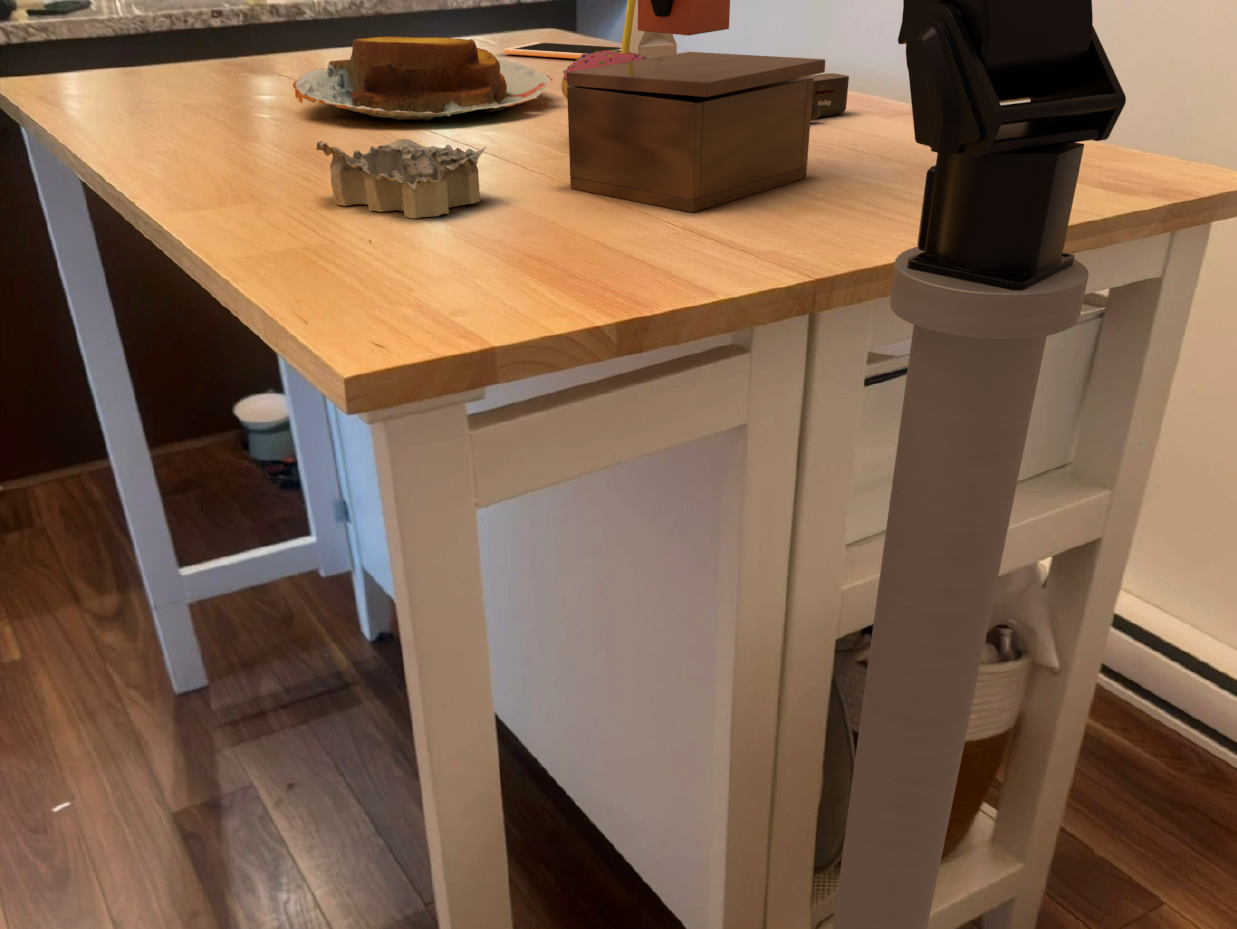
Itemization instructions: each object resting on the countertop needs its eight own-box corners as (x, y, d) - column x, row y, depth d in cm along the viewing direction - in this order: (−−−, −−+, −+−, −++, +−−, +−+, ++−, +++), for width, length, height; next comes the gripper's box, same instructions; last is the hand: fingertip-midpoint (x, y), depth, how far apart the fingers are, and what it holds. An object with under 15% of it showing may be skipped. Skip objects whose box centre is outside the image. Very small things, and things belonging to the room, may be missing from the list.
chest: (806, 178, 86) (814, 77, 82) (692, 212, 78) (695, 103, 74) (686, 158, 92) (688, 64, 89) (570, 188, 84) (566, 86, 80)
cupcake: (667, 133, 101) (668, -24, 95) (657, 152, 94) (657, -15, 88) (571, 132, 102) (566, -23, 96) (554, 151, 95) (547, -15, 89)
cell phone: (608, 61, 139) (608, 55, 139) (502, 54, 146) (501, 48, 146) (641, 54, 144) (641, 48, 144) (536, 47, 151) (536, 41, 151)
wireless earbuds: (771, 118, 107) (773, 80, 105) (828, 110, 110) (831, 72, 108) (804, 126, 103) (806, 86, 102) (862, 117, 107) (866, 78, 105)
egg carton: (317, 203, 82) (307, 141, 79) (394, 183, 87) (387, 124, 84) (422, 223, 76) (415, 157, 74) (498, 201, 81) (494, 139, 79)
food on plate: (551, 84, 125) (549, 16, 122) (556, 127, 105) (553, 47, 101) (317, 89, 124) (307, 20, 120) (275, 133, 104) (262, 52, 100)
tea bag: (638, 116, 108) (637, -5, 103) (622, 105, 114) (621, -11, 108) (675, 114, 109) (677, -6, 103) (658, 103, 114) (659, -12, 109)
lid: (825, 72, 81) (825, 59, 81) (706, 97, 73) (706, 82, 73) (688, 64, 89) (688, 51, 88) (566, 85, 80) (565, 72, 80)
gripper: (684, -263, 79) (679, -5, 88) (486, -282, 68) (504, 17, 77) (819, -275, 73) (799, 4, 82) (628, -297, 62) (629, 30, 71)
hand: (684, 13), depth 78 cm, fingers closed on block, 4 cm apart
